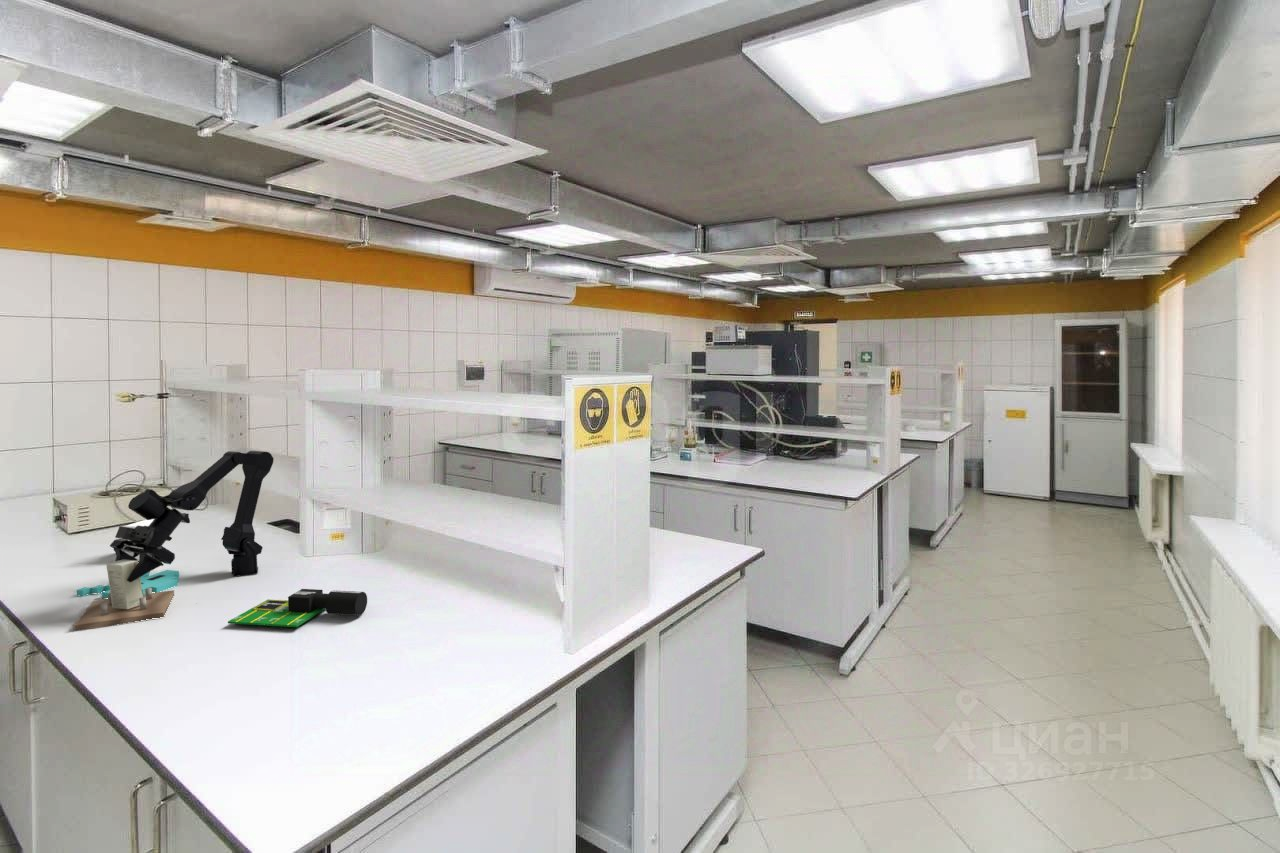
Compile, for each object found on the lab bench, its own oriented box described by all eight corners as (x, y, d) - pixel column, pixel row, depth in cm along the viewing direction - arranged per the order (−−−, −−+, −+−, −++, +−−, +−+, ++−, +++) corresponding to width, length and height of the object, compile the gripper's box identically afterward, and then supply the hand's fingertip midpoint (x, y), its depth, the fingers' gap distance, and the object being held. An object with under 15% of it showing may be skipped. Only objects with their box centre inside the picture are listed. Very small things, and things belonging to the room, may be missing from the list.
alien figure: (77, 597, 181) (134, 603, 177) (76, 589, 180) (133, 595, 177) (144, 574, 200) (197, 579, 196) (143, 567, 200) (196, 572, 196)
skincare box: (144, 604, 171) (139, 560, 169) (127, 610, 167) (121, 565, 165) (128, 601, 173) (123, 558, 171) (110, 607, 169) (105, 563, 167)
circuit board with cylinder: (226, 602, 160) (266, 581, 175) (227, 628, 161) (268, 605, 176) (337, 608, 157) (369, 586, 172) (338, 634, 158) (370, 610, 173)
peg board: (174, 595, 182) (173, 580, 181) (163, 617, 166) (162, 601, 166) (93, 606, 173) (92, 590, 173) (74, 631, 158) (73, 613, 157)
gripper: (115, 510, 174) (70, 560, 165) (160, 516, 167) (116, 570, 158) (148, 530, 182) (107, 580, 173) (192, 538, 176) (152, 589, 166)
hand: (119, 579), depth 168 cm, fingers open, 7 cm apart
